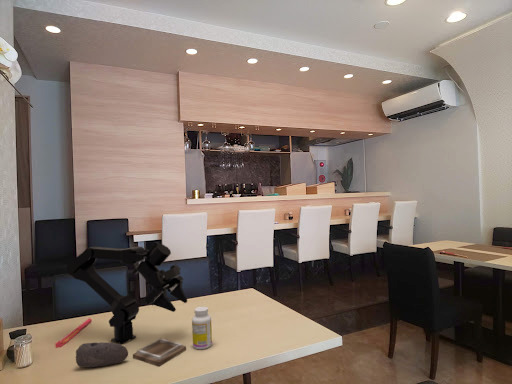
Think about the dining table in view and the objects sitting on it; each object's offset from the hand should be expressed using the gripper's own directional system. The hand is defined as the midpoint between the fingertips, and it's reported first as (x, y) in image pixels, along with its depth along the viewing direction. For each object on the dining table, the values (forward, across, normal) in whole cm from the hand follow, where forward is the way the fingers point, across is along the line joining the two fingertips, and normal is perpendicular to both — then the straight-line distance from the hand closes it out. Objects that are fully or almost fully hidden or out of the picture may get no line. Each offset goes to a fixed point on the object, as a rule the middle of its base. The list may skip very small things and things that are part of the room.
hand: (181, 306), depth 114 cm
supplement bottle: (+15, 0, +4) cm, 16 cm away
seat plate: (+6, -8, +12) cm, 16 cm away
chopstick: (-23, +2, +43) cm, 49 cm away
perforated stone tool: (-3, -17, +23) cm, 29 cm away
